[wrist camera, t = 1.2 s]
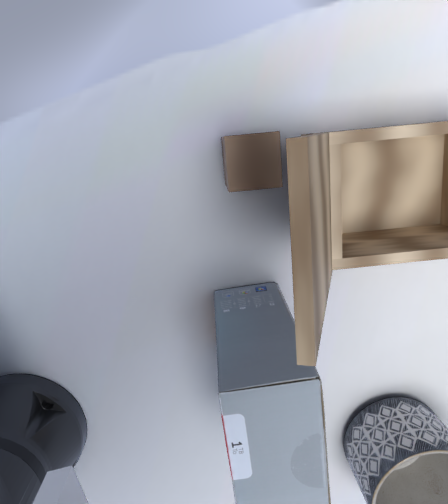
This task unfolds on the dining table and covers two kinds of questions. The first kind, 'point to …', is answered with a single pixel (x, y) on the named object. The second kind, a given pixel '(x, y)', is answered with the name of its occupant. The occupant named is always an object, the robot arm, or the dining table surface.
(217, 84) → the dining table surface
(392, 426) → the planter
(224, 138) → the walnut block
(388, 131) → the light wooden box
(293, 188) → the lid
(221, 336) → the hard drive box
